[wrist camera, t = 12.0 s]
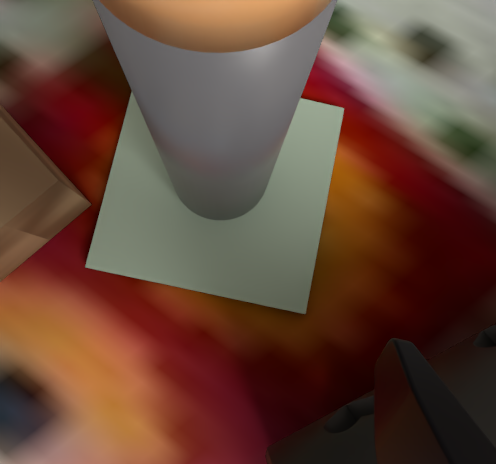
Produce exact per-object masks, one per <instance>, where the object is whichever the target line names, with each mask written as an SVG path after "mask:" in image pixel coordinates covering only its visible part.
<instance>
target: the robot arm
mask: <svg viewBox="0 0 496 464" xmlns="http://www.w3.org/2000/svg"><path fill="white" fill-rule="evenodd" d="M374 429H375V449H376V459H377V464H496V448H495V447H494V445H493V444H492V443H491V442H490V440H489V439H488V438H487V436H486V435H485V434H484V433H483V431H482V430H481V429H480V428H479V426H478V425H477V424H476V422H475V421H474V420H473V419H472V417H471V416H470V415H469V414H468V412H467V411H466V410H465V408H464V407H463V406H462V405H461V403H460V402H459V401H458V400H457V398H456V397H455V396H454V395H453V393H452V392H451V391H450V389H449V388H448V387H447V386H446V384H445V383H444V382H443V381H442V379H441V378H440V377H439V375H438V374H437V373H436V372H435V370H434V369H433V368H432V367H431V365H430V364H429V363H428V361H427V360H426V359H425V358H424V356H423V355H422V354H421V353H420V351H419V350H418V349H417V347H416V346H415V345H414V344H413V343H412V342H410V341H407V340H403V339H398V338H392V339H390V340H389V341H388V343H387V344H386V346H385V348H384V349H383V351H382V353H381V355H380V356H379V358H378V360H377V362H376V364H375V369H374Z"/></svg>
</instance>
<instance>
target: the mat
mask: <svg viewBox="0 0 496 464" xmlns="http://www.w3.org/2000/svg"><path fill="white" fill-rule="evenodd" d="M343 112H344V108H341V107H337V106H332V105H328V104H324V103H320V102H315V101H311V100H307V99H303V98H300V100H299V103H298V105H297V108H296V111H295V113H294V116H293V119H292V121H291V124H290V127H289V129H288V132H287V135H286V137H285V140H284V142H283V145H282V148H281V150H280V153H279V156H278V158H277V161H276V164H275V166H274V169H273V172H272V174H271V177H270V179H269V182H268V185H267V187H266V190H265V192H264V195H263V196H262V198H261V200H260V201H259V202H258V204H257V205H256V206H255V207H254V208H253V209H251V210H250V211H249V212H247V213H246V214H244V215H242V216H240V217H237V218H234V219H230V220H211V219H207V218H204V217H201V216H199V215H197V214H195V213H194V212H192V211H191V210H189V209H188V208H187V207H186V206H185V205H184V204H183V203H182V201H181V200H180V199H179V197H178V195H177V193H176V191H175V189H174V186H173V184H172V182H171V180H170V177H169V175H168V173H167V170H166V168H165V166H164V163H163V161H162V159H161V157H160V154H159V152H158V150H157V147H156V145H155V143H154V140H153V138H152V136H151V134H150V131H149V129H148V127H147V124H146V122H145V120H144V117H143V115H142V113H141V111H140V108H139V106H138V104H137V101H136V99H135V97H134V95H133V92H131V96H130V100H129V103H128V107H127V111H126V115H125V119H124V122H123V126H122V130H121V134H120V137H119V141H118V145H117V149H116V152H115V156H114V160H113V164H112V167H111V171H110V175H109V179H108V183H107V186H106V190H105V194H104V198H103V201H102V205H101V209H100V213H99V216H98V220H97V224H96V228H95V231H94V235H93V239H92V243H91V247H90V250H89V254H88V258H87V262H86V265H85V268H90V269H95V270H100V271H104V272H109V273H114V274H118V275H123V276H128V277H132V278H137V279H142V280H147V281H151V282H156V283H161V284H165V285H170V286H175V287H179V288H184V289H189V290H194V291H198V292H203V293H208V294H212V295H217V296H222V297H226V298H231V299H236V300H240V301H245V302H250V303H255V304H259V305H264V306H269V307H273V308H278V309H283V310H287V311H292V312H297V313H302V314H306V309H307V304H308V299H309V293H310V288H311V283H312V277H313V272H314V267H315V261H316V256H317V251H318V245H319V240H320V235H321V229H322V224H323V219H324V214H325V208H326V203H327V198H328V192H329V187H330V182H331V176H332V171H333V166H334V160H335V155H336V150H337V144H338V139H339V134H340V128H341V123H342V118H343Z"/></svg>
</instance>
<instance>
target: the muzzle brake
mask: <svg viewBox="0 0 496 464" xmlns="http://www.w3.org/2000/svg"><path fill="white" fill-rule="evenodd" d="M427 361H428V363H429V364H430V365H431V367H432V368H433V369H434V370H435V372H436V373H437V374H438V375H439V377H440V378H441V379H442V381H443V382H444V383H445V384H446V386H447V387H448V388H449V389H450V391H451V392H452V393H453V395H454V396H455V397H456V398H457V400H458V401H459V402H460V403H461V405H462V406H463V407H464V408H465V410H466V411H467V412H468V414H469V415H470V416H471V417H472V419H473V420H474V421H475V422H476V424H477V425H478V426H479V428H480V429H481V430H482V431H483V433H484V434H485V435H486V436H487V438H488V439H489V440H490V442H491V443H492V444H493V445H494V447H495V448H496V323H495V324H494V325H492V326H490V327H488V328H486V329H484V330H483V331H481V332H479V333H477V334H475V335H473V336H471V337H470V338H468V339H466V340H464V341H462V342H460V343H459V344H457V345H455V346H453V347H451V348H449V349H448V350H446V351H444V352H442V353H440V354H438V355H436V356H435V357H433V358H431V359H429V360H427ZM265 456H266V460H267V464H377V459H376V449H375V429H374V390H372V391H370V392H368V393H366V394H365V395H363V396H361V397H359V398H357V399H355V400H353V401H352V402H350V403H348V404H346V405H344V406H342V407H341V408H339V409H337V410H335V411H333V412H331V413H329V414H328V415H326V416H324V417H322V418H320V419H318V420H317V421H315V422H313V423H311V424H309V425H307V426H306V427H304V428H302V429H300V430H298V431H296V432H294V433H293V434H291V435H289V436H287V437H285V438H283V439H282V440H280V441H278V442H276V443H274V444H272V445H270V446H269V447H267V451H266V455H265Z"/></svg>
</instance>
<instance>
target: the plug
mask: <svg viewBox="0 0 496 464" xmlns="http://www.w3.org/2000/svg"><path fill="white" fill-rule="evenodd" d="M336 2H337V0H93V3H94V5H95V7H96V10H97V12H98V14H99V16H100V19H101V21H102V23H103V26H104V28H105V30H106V33H107V35H108V37H109V39H110V42H111V44H112V46H113V49H114V51H115V53H116V55H117V58H118V60H119V62H120V65H121V67H122V69H123V72H124V74H125V76H126V78H127V81H128V83H129V85H130V88H131V90H132V92H133V95H134V97H135V99H136V101H137V104H138V106H139V108H140V111H141V113H142V115H143V117H144V120H145V122H146V124H147V127H148V129H149V131H150V134H151V136H152V138H153V140H154V143H155V145H156V147H157V150H158V152H159V154H160V157H161V159H162V161H163V163H164V166H165V168H166V170H167V173H168V175H169V177H170V180H171V182H172V184H173V186H174V189H175V191H176V193H177V195H178V197H179V199H180V200H181V201H182V203H183V204H184V205H185V206H186V207H187V208H188V209H189V210H191V211H192V212H194V213H195V214H197V215H199V216H201V217H204V218H207V219H211V220H230V219H234V218H237V217H240V216H242V215H244V214H246V213H247V212H249V211H250V210H251V209H253V208H254V207H255V206H256V205H257V204H258V202H259V201H260V200H261V198H262V196H263V195H264V192H265V190H266V187H267V185H268V182H269V179H270V177H271V174H272V172H273V169H274V166H275V164H276V161H277V158H278V156H279V153H280V150H281V148H282V145H283V142H284V140H285V137H286V135H287V132H288V129H289V127H290V124H291V121H292V119H293V116H294V113H295V111H296V108H297V105H298V103H299V100H300V98H301V95H302V92H303V90H304V87H305V84H306V82H307V79H308V76H309V74H310V71H311V68H312V66H313V63H314V61H315V58H316V55H317V53H318V50H319V47H320V45H321V42H322V39H323V37H324V34H325V31H326V29H327V26H328V24H329V21H330V18H331V16H332V13H333V10H334V8H335V5H336Z"/></svg>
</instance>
